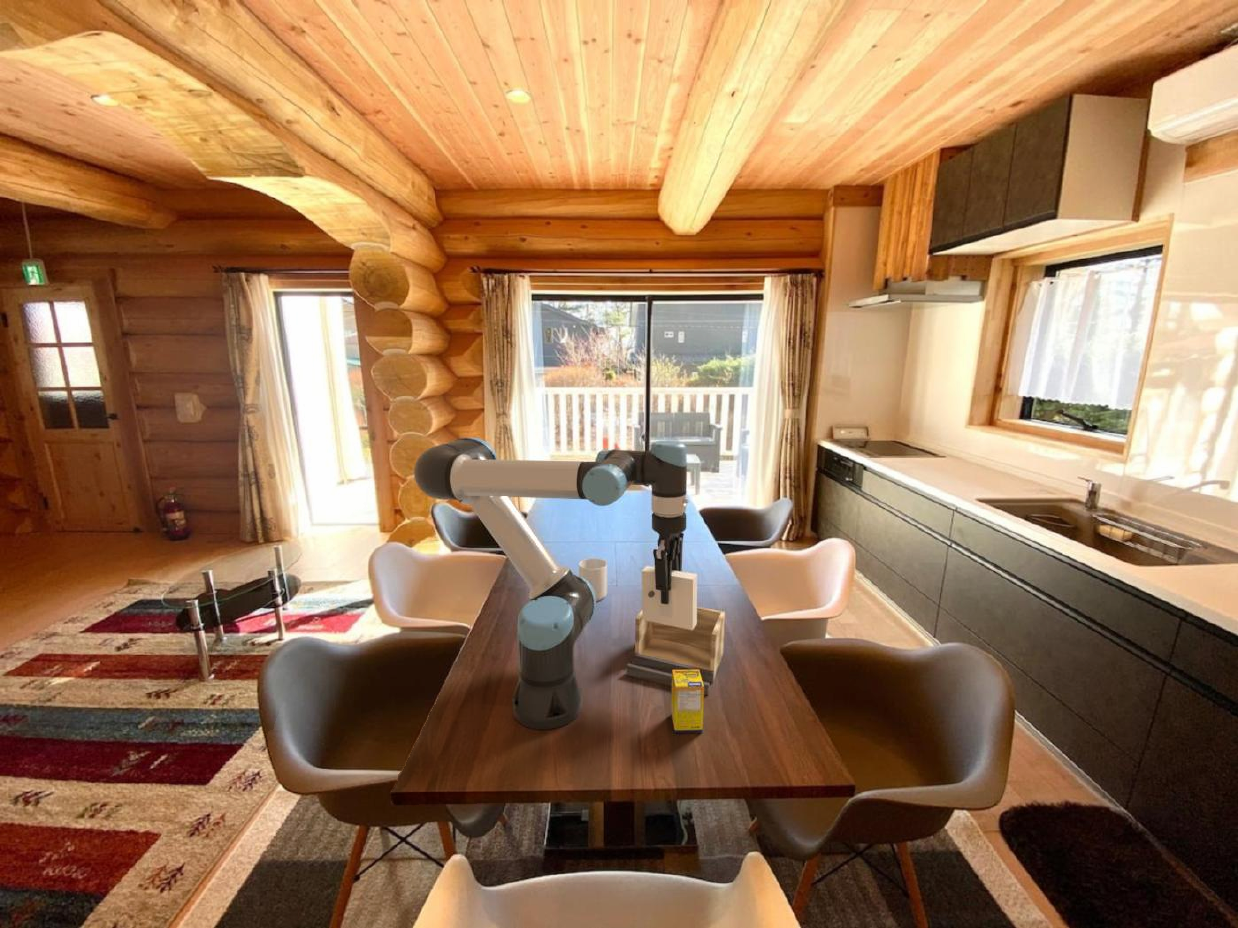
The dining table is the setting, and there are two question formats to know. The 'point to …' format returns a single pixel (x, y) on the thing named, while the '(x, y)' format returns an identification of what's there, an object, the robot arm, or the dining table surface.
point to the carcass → (679, 648)
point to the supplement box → (687, 701)
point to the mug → (595, 575)
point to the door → (682, 599)
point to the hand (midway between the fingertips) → (669, 611)
